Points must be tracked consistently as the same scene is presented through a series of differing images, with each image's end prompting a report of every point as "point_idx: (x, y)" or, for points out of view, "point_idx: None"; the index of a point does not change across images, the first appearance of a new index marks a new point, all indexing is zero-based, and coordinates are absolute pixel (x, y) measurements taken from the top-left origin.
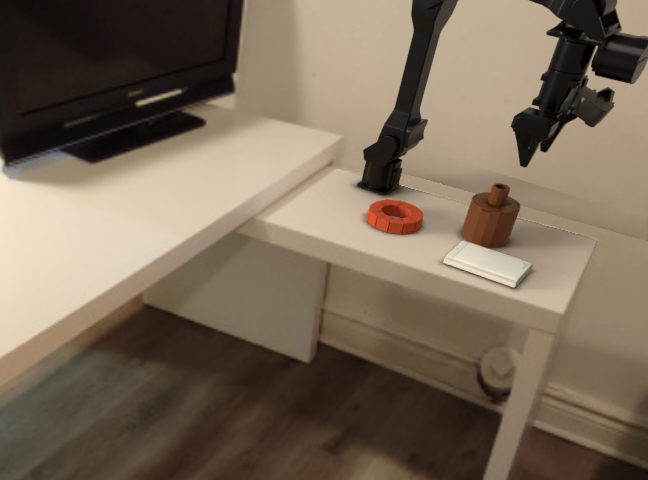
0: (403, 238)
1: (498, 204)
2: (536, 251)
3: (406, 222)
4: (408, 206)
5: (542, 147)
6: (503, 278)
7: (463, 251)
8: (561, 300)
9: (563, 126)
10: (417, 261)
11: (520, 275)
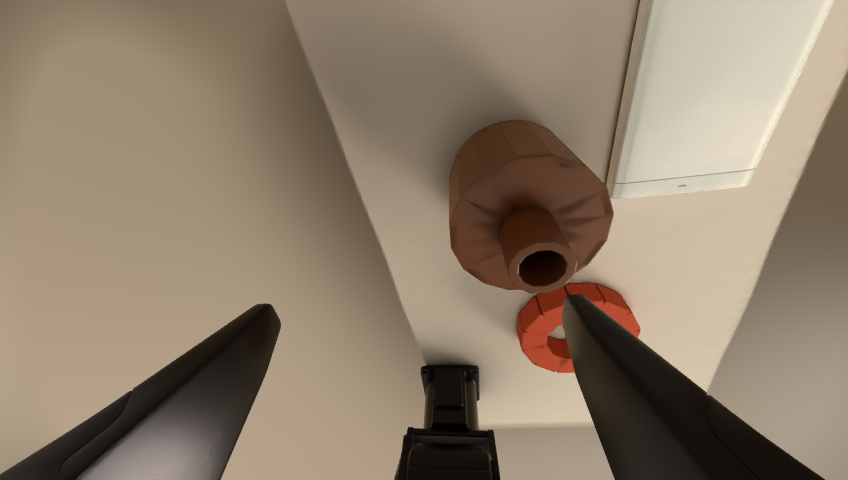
0: (635, 283)
1: (555, 219)
2: (486, 27)
3: (623, 312)
4: (538, 336)
5: (270, 339)
6: None
7: (695, 167)
8: None
9: (54, 467)
10: (746, 221)
11: None
